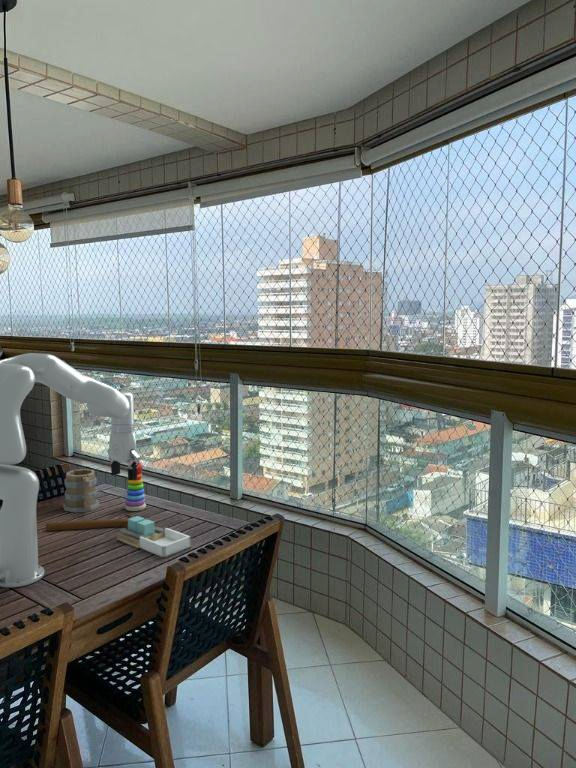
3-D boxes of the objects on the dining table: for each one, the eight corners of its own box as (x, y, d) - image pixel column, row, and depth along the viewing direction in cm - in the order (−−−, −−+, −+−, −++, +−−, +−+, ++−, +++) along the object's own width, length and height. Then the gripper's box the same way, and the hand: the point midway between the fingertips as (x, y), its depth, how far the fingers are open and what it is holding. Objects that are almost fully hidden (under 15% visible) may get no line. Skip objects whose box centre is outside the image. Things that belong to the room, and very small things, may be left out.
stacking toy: (142, 512, 210) (142, 464, 208) (122, 511, 210) (121, 463, 208) (148, 505, 218) (147, 459, 216) (128, 505, 218) (127, 458, 216)
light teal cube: (144, 537, 180) (144, 525, 180) (137, 534, 183) (137, 522, 182) (154, 533, 183) (154, 521, 183) (147, 530, 186) (146, 519, 185)
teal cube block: (135, 533, 183) (135, 521, 183) (128, 530, 186) (127, 519, 185) (145, 530, 186) (145, 518, 186) (137, 527, 189) (137, 516, 188)
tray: (163, 557, 169) (163, 546, 169) (139, 547, 176) (139, 537, 176) (190, 546, 177) (190, 536, 177) (166, 537, 185) (166, 527, 185)
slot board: (137, 547, 176) (137, 538, 176) (117, 539, 183) (116, 530, 183) (167, 537, 186) (166, 528, 185) (146, 529, 192) (146, 521, 192)
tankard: (62, 504, 218) (61, 467, 216) (95, 500, 224) (94, 464, 222) (68, 520, 200) (67, 480, 199) (104, 515, 206) (103, 476, 205)
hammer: (43, 535, 186) (135, 531, 191) (43, 526, 186) (135, 522, 191) (52, 524, 198) (138, 520, 203) (51, 515, 197) (138, 512, 202)
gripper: (98, 426, 190) (100, 474, 192) (128, 433, 179) (129, 484, 181) (117, 423, 196) (118, 470, 198) (147, 429, 185) (148, 479, 187)
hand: (124, 477), depth 189 cm, fingers open, 9 cm apart
